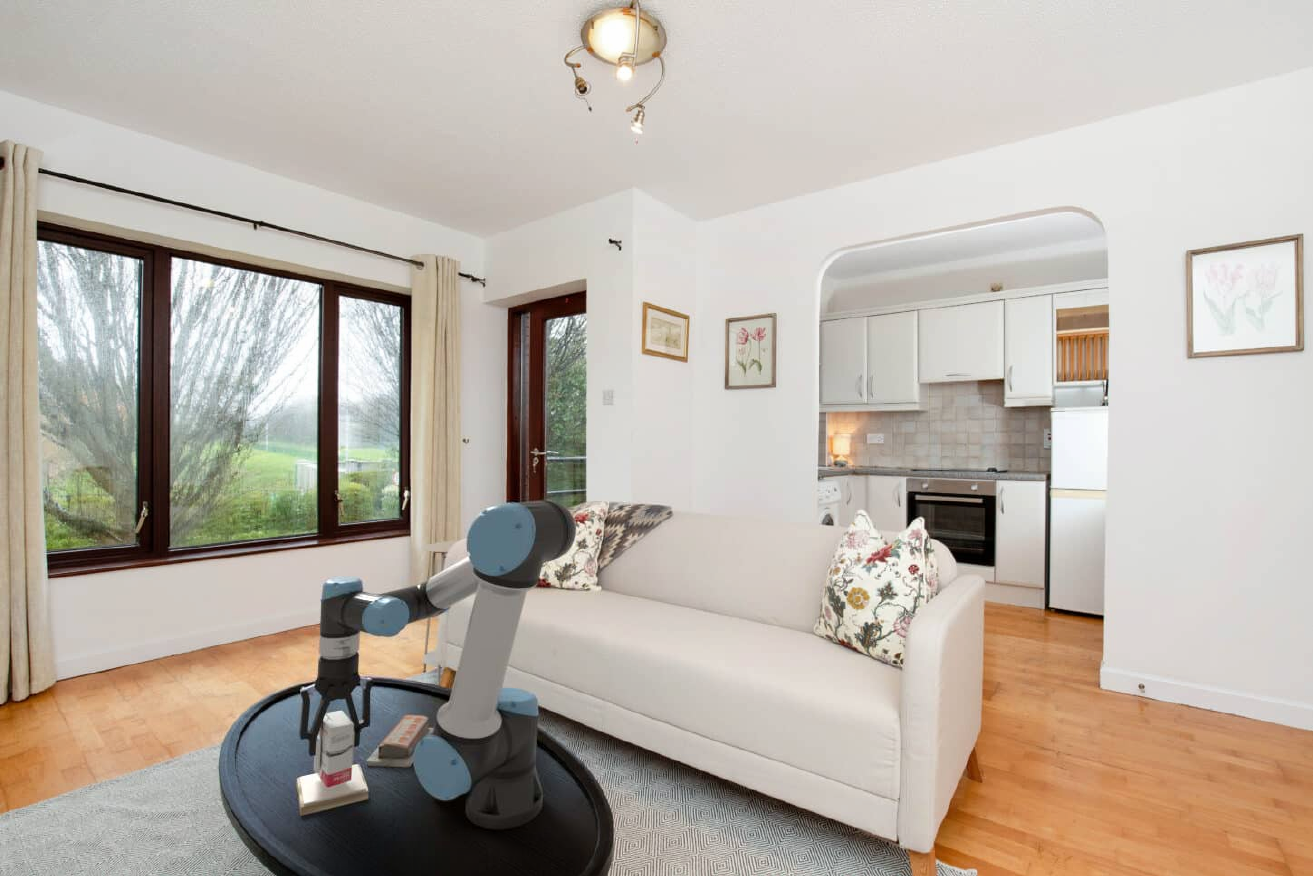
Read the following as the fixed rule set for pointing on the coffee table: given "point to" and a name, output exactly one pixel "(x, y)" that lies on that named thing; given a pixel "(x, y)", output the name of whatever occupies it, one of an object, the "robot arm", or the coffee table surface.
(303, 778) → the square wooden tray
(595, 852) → the coffee table surface
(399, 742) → the packaged product
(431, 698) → the coffee table surface
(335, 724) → the ink box
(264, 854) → the coffee table surface
